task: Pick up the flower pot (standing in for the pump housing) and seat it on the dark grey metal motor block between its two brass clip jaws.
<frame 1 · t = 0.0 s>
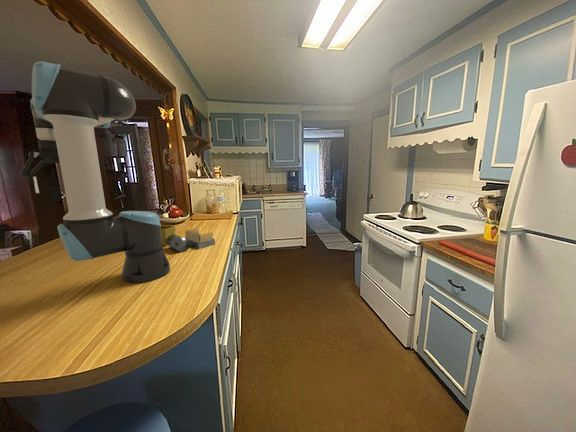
hand: (60, 191, 101), 28 cm above the countertop, fingers open, 13 cm apart
flower pot: (164, 244, 119), on the countertop
motor block: (199, 243, 120), on the countertop
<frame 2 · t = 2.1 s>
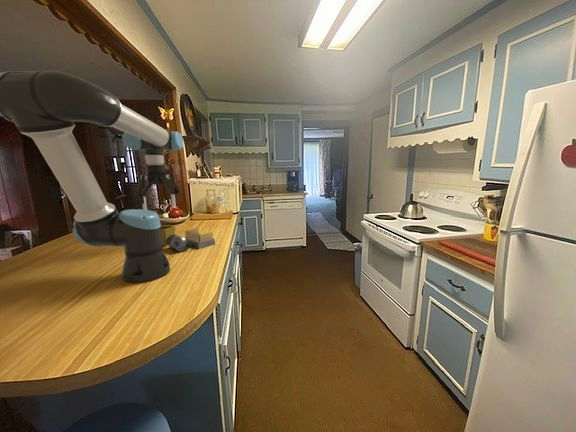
hand: (160, 208, 116), 19 cm above the countertop, fingers open, 13 cm apart
nothing on the countertop moved.
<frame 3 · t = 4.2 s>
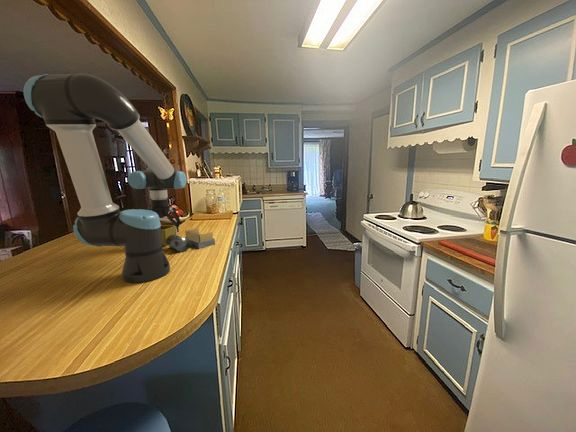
hand: (163, 241, 119), 2 cm above the countertop, fingers closed on flower pot, 12 cm apart
flower pot: (164, 244, 119), on the countertop, touching gripper
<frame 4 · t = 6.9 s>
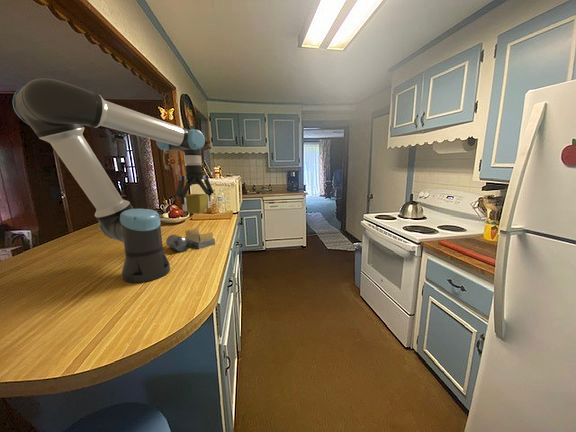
hand: (196, 209, 117), 18 cm above the countertop, fingers closed on flower pot, 11 cm apart
flower pot: (197, 213, 117), point 16 cm above the countertop, touching gripper
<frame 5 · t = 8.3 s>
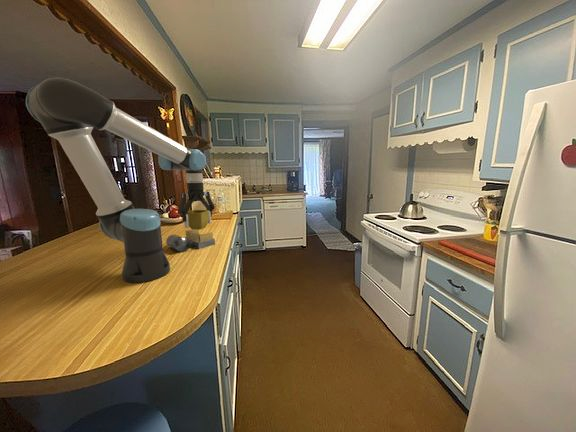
hand: (198, 225, 119), 10 cm above the countertop, fingers closed on flower pot, 11 cm apart
flower pot: (198, 229, 119), point 8 cm above the countertop, touching gripper
when the fingers open (6 cm above the countertop, at t = 9.7 s): flower pot drops 1 cm, resting on motor block.
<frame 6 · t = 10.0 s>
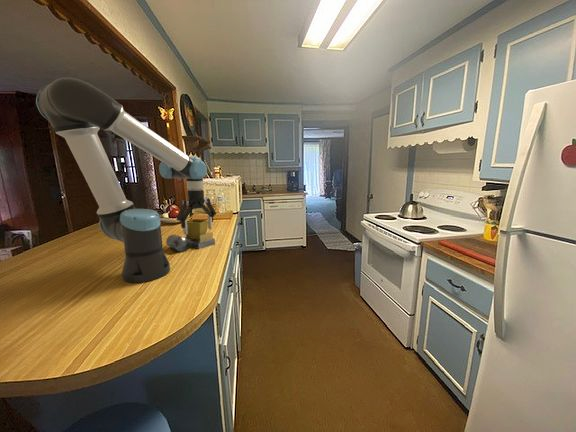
hand: (198, 231, 119), 7 cm above the countertop, fingers open, 13 cm apart
flower pot: (196, 238, 119), point 3 cm above the countertop, touching gripper, motor block
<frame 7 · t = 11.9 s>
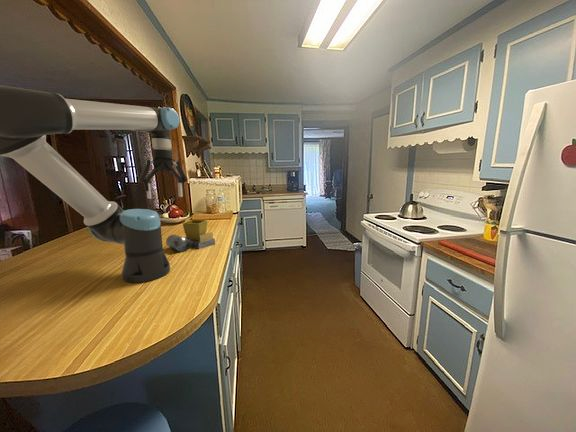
hand: (165, 197, 107), 25 cm above the countertop, fingers open, 13 cm apart
flower pot: (196, 239, 119), point 3 cm above the countertop, touching motor block
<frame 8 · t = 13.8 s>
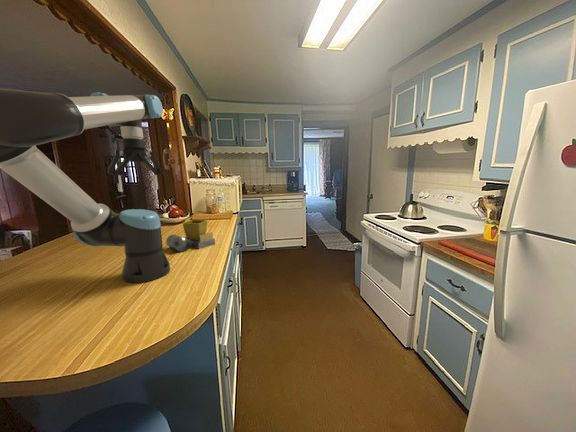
hand: (139, 190, 100), 29 cm above the countertop, fingers open, 13 cm apart
nothing on the countertop moved.
at the end: flower pot 1.2 cm off-centre on the motor block, point 2.8 cm above the motor block's base; flower pot tilted 0°; the gripper is holding nothing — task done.
